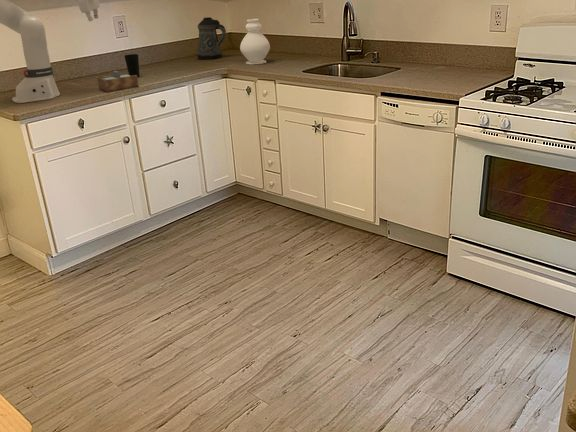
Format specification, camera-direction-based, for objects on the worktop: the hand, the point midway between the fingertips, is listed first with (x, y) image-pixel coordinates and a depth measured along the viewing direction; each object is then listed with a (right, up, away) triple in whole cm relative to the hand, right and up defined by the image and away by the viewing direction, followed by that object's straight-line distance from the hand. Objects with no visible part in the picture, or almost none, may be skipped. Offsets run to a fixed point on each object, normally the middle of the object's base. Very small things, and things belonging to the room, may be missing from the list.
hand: (93, 19), depth 298 cm
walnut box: (+10, -32, +10) cm, 35 cm away
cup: (+11, -20, +38) cm, 45 cm away
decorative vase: (+78, -6, +62) cm, 100 cm away
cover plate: (+10, -28, +8) cm, 31 cm away
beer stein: (+48, +4, +88) cm, 101 cm away
